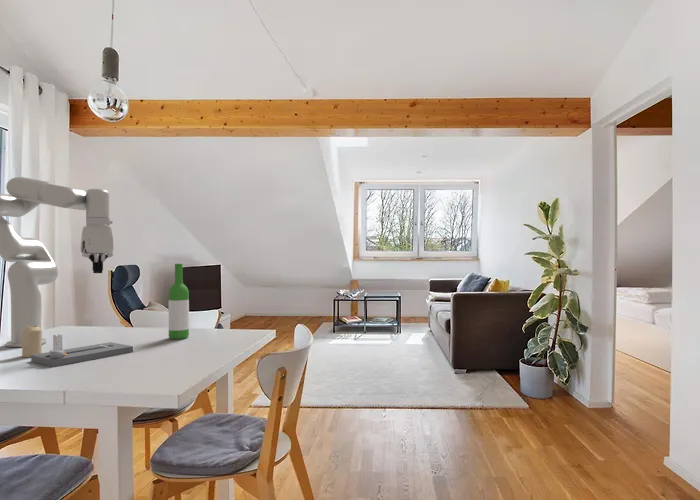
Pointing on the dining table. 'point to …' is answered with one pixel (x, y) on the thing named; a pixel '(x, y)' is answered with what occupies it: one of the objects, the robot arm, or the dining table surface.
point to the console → (81, 354)
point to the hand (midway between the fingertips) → (97, 273)
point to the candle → (31, 341)
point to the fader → (57, 343)
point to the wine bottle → (178, 307)
